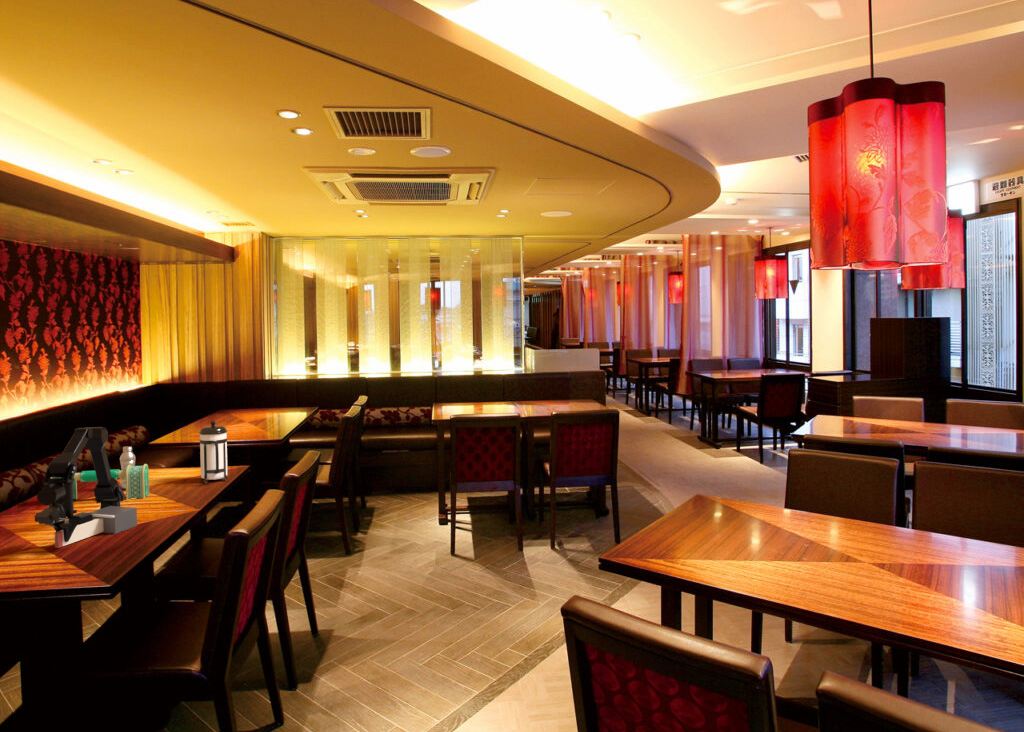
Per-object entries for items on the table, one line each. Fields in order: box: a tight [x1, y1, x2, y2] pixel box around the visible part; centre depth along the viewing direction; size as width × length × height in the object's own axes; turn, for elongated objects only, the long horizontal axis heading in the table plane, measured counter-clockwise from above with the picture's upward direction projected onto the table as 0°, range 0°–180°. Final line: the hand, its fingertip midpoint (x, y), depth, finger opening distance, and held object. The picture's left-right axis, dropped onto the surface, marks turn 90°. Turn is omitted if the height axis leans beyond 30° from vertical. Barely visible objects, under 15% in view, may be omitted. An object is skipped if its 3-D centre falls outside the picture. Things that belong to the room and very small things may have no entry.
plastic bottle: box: [119, 445, 136, 490], centre depth 298 cm, size 6×7×20 cm
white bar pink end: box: [54, 517, 104, 549], centre depth 224 cm, size 19×1×5 cm, turn 167°
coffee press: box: [198, 420, 229, 484], centre depth 314 cm, size 17×16×30 cm
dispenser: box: [88, 506, 138, 535], centre depth 237 cm, size 11×12×7 cm
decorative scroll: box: [51, 463, 150, 500], centre depth 279 cm, size 36×8×15 cm, turn 106°
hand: (64, 541), depth 218 cm, fingers closed on white bar pink end
